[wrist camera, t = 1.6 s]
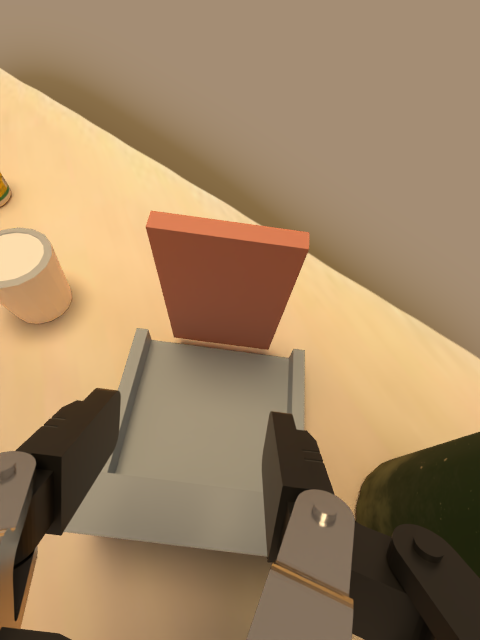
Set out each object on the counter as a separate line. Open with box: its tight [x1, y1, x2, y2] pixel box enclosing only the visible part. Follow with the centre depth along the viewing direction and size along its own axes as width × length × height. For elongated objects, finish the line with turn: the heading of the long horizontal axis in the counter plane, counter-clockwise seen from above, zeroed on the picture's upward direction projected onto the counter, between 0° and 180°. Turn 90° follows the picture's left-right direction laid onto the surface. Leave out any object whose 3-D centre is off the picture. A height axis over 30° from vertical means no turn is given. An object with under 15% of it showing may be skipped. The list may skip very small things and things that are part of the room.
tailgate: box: [146, 211, 309, 350], centre depth 25 cm, size 2×9×15 cm, turn 84°
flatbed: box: [64, 328, 305, 557], centre depth 25 cm, size 15×15×9 cm
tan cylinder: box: [0, 228, 72, 324], centre depth 32 cm, size 7×7×7 cm
